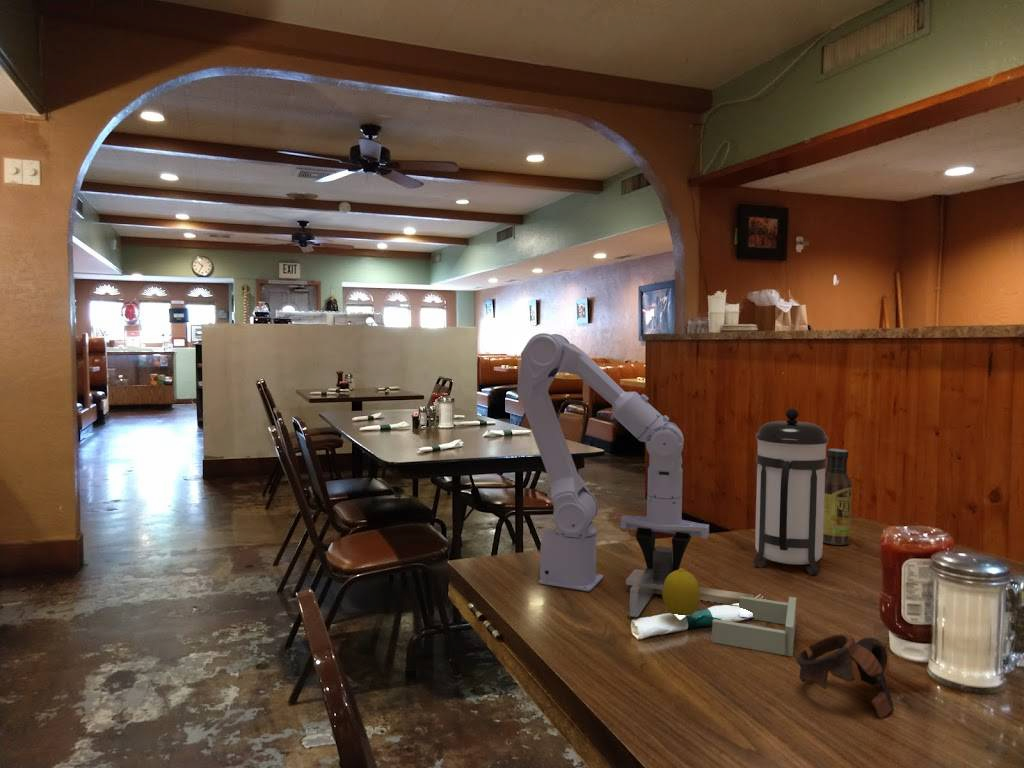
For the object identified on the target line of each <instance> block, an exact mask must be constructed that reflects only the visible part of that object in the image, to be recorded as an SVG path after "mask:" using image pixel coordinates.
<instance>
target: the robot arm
mask: <svg viewBox="0 0 1024 768" xmlns="http://www.w3.org/2000/svg"><path fill="white" fill-rule="evenodd" d="M520 361H521V363H520V369H519V374H518V375H519V376H518V379H517V384H516V390H517V394H518V397H519V399H520V402H521V405H522V408H523V410H524V413H525V415H526V419H527V422H528V425H529V427H530V430H531V432H532V435H533V438H534V441H535V444H536V446H537V449H538V452H539V455H540V458H541V460H542V463H543V466H544V468H545V472H546V474H547V476H548V479H549V482H550V498H551V499H550V500H551V501H552V502H551V503H552V505H553V513H552V520H553V523H554V526H555V529H554V528H547V529H546V530H545V531H544V533H543V534H542V536H541V542H540V552H539V553H540V565H539V567H540V570H539V572H540V573H539V576H540V577H539V578H540V579H539V580H538V584H541V585H548V586H554V587H559V588H565V589H571V590H578V591H583V592H584V591H585V592H591V591H592V590H593V589H594V588H595V587H596V586H597V585H598V584H599V583H600V581H602V579H603V578H604V575H603V574H600V573H599V574H598V573H597V528H596V527H595V526H594V523H593V520H594V519H595V518H596V516H597V514H598V510H599V504H598V501H597V498H596V497H595V496H594V494H593V493H591V492H590V491H589V488H588V487H587V486H586V483H585V481H584V479H583V478H582V477H581V475H580V474H579V472H578V470H577V467H576V464H575V462H574V459H573V456H572V454H571V452H570V448H569V445H568V443H567V440H566V437H565V434H564V432H563V429H562V427H561V423H560V422H559V419H558V416H557V413H556V410H555V407H554V405H553V402H552V399H551V396H550V393H549V389H550V387H551V385H552V383H553V381H554V380H555V378H556V375H557V374H558V373H559V372H560V373H563V374H570V375H573V376H574V375H575V376H577V377H579V379H581V381H583V382H584V383H585V384H586V385H588V387H591V389H593V390H594V391H595V392H596V393H597V394H598V395H599V396H601V397H602V398H603V399H604V400H605V401H606V402H608V403H609V404H610V405H611V406H612V416H613V418H614V419H616V421H617V422H619V423H620V424H621V425H622V426H623V427H624V428H625V429H626V430H628V432H630V433H631V434H632V436H634V437H635V438H636V439H637V440H638V441H639V442H642V443H643V442H644V443H645V447H646V451H647V453H648V455H649V456H648V457H649V459H648V460H649V462H648V464H649V466H648V467H647V496H646V498H647V499H646V500H647V501H646V502H647V503H646V504H647V505H646V506H647V507H646V516H645V515H643V516H642V515H625V514H624V515H622V516H621V517H620V529H622V530H627V529H628V530H629V529H632V530H637V531H636V534H635V539H636V541H637V543H638V546H639V547H640V549H641V552H642V554H643V557H644V561H645V565H646V569H652V568H653V550H654V548H655V547H656V537H657V536H656V535H657V533H663V534H673V537H672V538H671V544H672V545H671V546H672V548H673V565H672V572H673V571H676V570H678V569H680V568H681V563H682V560H683V557H684V554H685V552H686V549H687V547H688V546H689V543H690V541H691V539H692V537H698V538H700V539H704V540H705V539H706V540H707V539H708V538H709V536H710V524H707V523H699V522H694V521H690V520H685V519H682V518H683V517H682V516H683V515H682V513H683V510H682V509H683V468H682V465H683V457H682V452H683V450H684V442H685V441H684V440H685V439H684V438H685V437H684V434H683V433H682V430H681V429H680V428H679V426H678V425H677V423H674V422H670V418H669V417H668V416H667V415H666V414H665V415H662V414H661V413H660V412H659V411H658V409H656V408H654V407H653V406H652V405H651V404H650V403H649V402H648V401H649V399H650V398H649V397H648V396H647V395H646V394H644V393H642V394H639V393H638V392H637V391H624V389H623V388H622V387H620V385H619V384H618V383H617V382H616V381H615V380H613V378H611V377H610V375H608V373H607V372H605V371H604V370H603V369H602V367H600V366H599V365H598V364H597V363H596V362H595V361H594V360H593V359H592V358H591V357H590V356H589V355H588V354H587V353H586V352H584V350H582V349H581V348H580V347H579V346H577V345H576V344H574V343H571V342H570V341H569V339H567V338H566V337H565V336H564V335H561V334H557V333H553V334H552V333H551V334H550V333H545V332H540V333H537V334H535V335H533V336H532V337H531V338H530V339H529V340H528V342H527V343H526V345H525V346H524V348H523V350H522V351H521V353H520Z"/></svg>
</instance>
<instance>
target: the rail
mask: <svg viewBox="0 0 1024 768" xmlns="http://www.w3.org/2000/svg"><path fill="white" fill-rule="evenodd" d="M699 591H700V601H701V600H703V601H702V602H707V601H710V602H709V603H714V602H716V604H720V603H723V604H722V605H727V604H733V603H739V601H740V596H745V597H751V598H755V594H752V593H751V594H750V593H743V592H737V591H730V590H723V589H716V588H709V587H703V586H699ZM653 594H658V595H662V590H660V589H653Z"/></svg>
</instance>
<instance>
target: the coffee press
mask: <svg viewBox="0 0 1024 768" xmlns="http://www.w3.org/2000/svg"><path fill="white" fill-rule="evenodd" d="M799 415H800V414H799V411H798V410H797V409H796V408H793V407H792V408H789V409H787V410H786V412H785V416H786V418H787V420H776V421H769V422H766V423H764V424H763V425H761V426H760V427H759V429H758V432H756V433H755V438H756V441H757V452H756V455H755V463H756V465H757V466H756V494H755V495H756V497H755V498H756V500H755V502H756V504H755V542H754V543H755V550H756V552H757V554H756V555H755V557H754V559H753V562H752V563H753V565H754V566H755V567H758V568H760V569H762V568H764V567H765V566H766V564H767V563H768V562H772V561H773V562H775V563H776V562H777V563H781V564H785V565H787V564H788V565H800V566H802V567H803V568H804V569H805V570H806V572H807V574H808V575H809V576H816V575H819V573H820V569H819V567H818V565H817V562H821V561H822V558H823V557H822V556H823V547H824V545H823V544H824V542H823V523H824V492H825V474H826V469H827V467H828V456H827V445H828V443H829V436H827V434H826V431H825V430H824V429H823V428H822V427H821V426H820V425H818V424H815V423H812V422H807V421H800V420H799V421H798V420H797V419H798V418H799V417H798V416H799ZM762 558H763V559H762Z"/></svg>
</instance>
